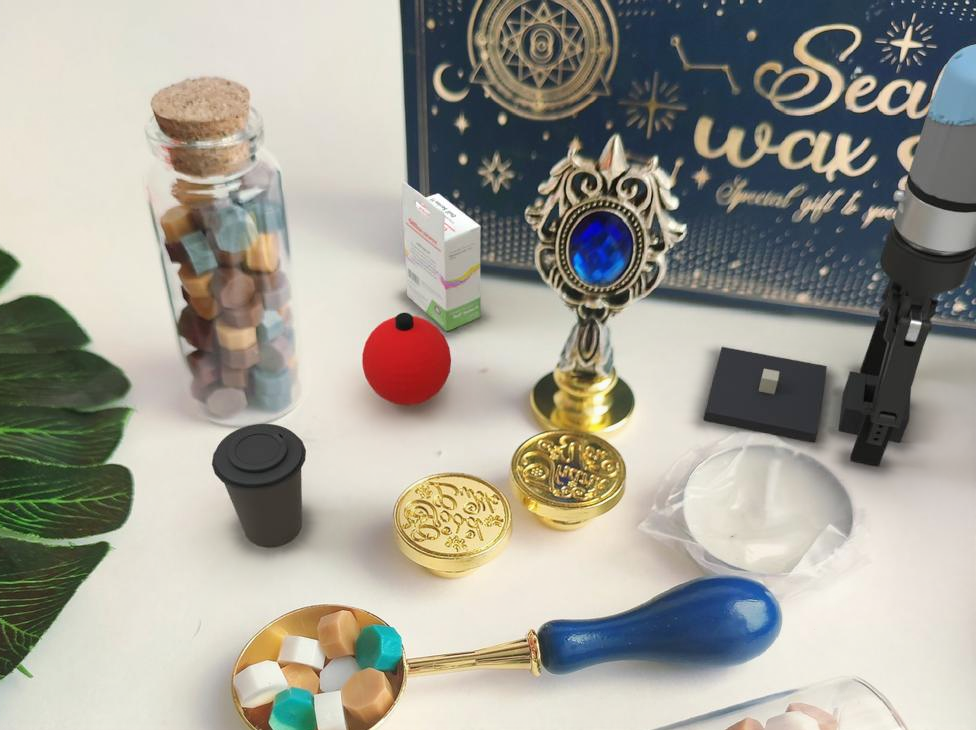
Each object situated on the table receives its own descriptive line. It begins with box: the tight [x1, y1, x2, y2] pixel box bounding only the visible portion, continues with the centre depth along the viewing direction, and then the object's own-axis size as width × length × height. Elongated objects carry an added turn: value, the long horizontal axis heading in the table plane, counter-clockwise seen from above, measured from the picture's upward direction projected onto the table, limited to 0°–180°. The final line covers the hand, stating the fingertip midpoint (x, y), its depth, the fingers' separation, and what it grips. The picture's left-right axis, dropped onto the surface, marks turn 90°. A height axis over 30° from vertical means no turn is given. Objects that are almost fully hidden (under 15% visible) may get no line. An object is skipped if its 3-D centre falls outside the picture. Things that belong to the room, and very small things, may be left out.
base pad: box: [703, 346, 828, 443], centre depth 110 cm, size 11×11×3 cm
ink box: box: [401, 181, 482, 332], centre depth 117 cm, size 9×5×15 cm, turn 34°
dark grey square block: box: [838, 370, 912, 443], centre depth 108 cm, size 6×6×3 cm
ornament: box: [361, 312, 452, 406], centre depth 108 cm, size 9×9×10 cm
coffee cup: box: [211, 423, 307, 548], centre depth 96 cm, size 8×8×10 cm
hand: (868, 416), depth 109 cm, fingers open, 13 cm apart
